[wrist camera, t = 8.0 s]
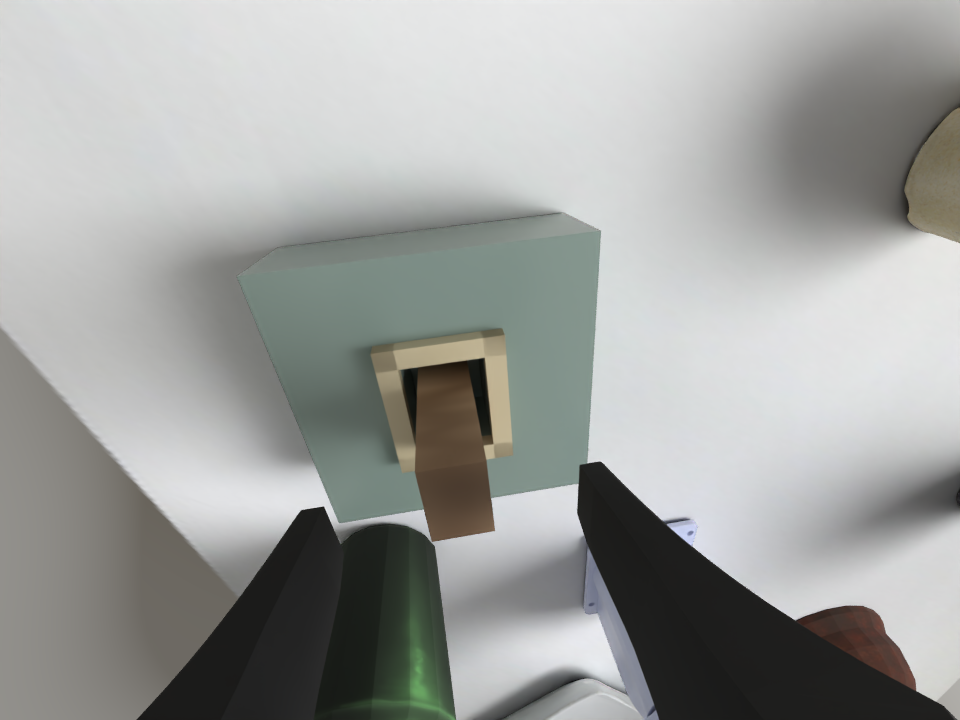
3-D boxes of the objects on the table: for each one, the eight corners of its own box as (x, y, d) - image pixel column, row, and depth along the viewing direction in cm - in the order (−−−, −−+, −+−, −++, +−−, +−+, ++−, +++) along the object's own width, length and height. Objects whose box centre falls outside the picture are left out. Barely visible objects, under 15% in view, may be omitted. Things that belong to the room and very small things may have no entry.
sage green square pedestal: (561, 430, 22) (590, 491, 18) (352, 462, 22) (336, 534, 18) (563, 212, 17) (608, 234, 13) (277, 247, 16) (228, 282, 12)
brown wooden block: (462, 337, 18) (486, 461, 11) (469, 391, 19) (494, 531, 12) (418, 343, 18) (414, 472, 11) (429, 397, 19) (431, 541, 12)
